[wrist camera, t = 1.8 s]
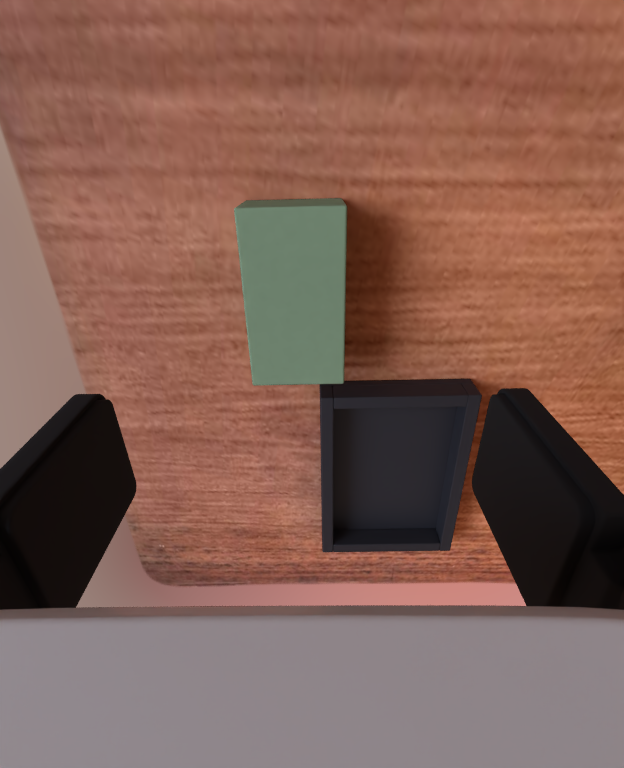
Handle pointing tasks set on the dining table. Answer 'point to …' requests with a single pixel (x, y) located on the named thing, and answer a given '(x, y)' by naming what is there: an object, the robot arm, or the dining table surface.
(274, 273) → the green rectangular block
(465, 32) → the dining table surface
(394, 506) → the black tray
